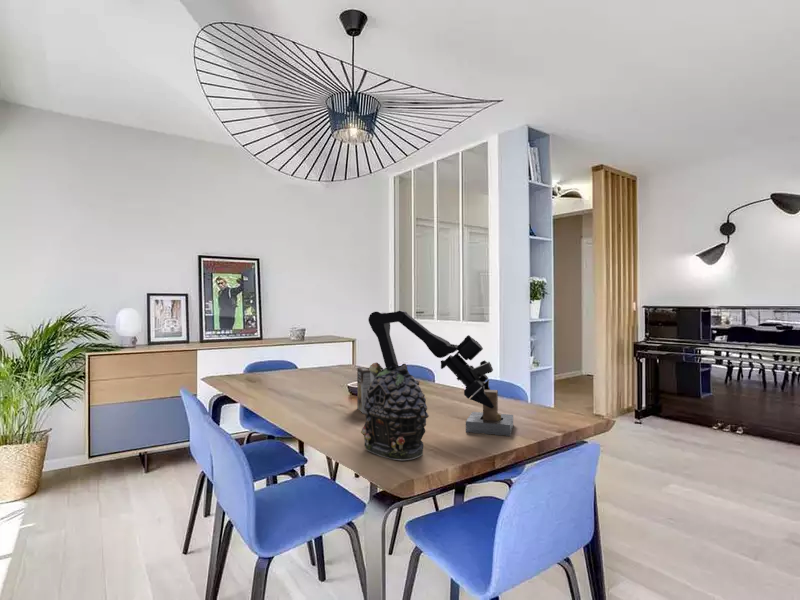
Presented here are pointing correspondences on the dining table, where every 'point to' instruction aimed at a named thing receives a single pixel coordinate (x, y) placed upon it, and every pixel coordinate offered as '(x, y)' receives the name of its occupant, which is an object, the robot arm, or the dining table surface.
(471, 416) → the hub block
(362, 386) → the coffee box
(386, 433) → the decorative house
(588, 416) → the dining table surface
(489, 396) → the keyed plug
